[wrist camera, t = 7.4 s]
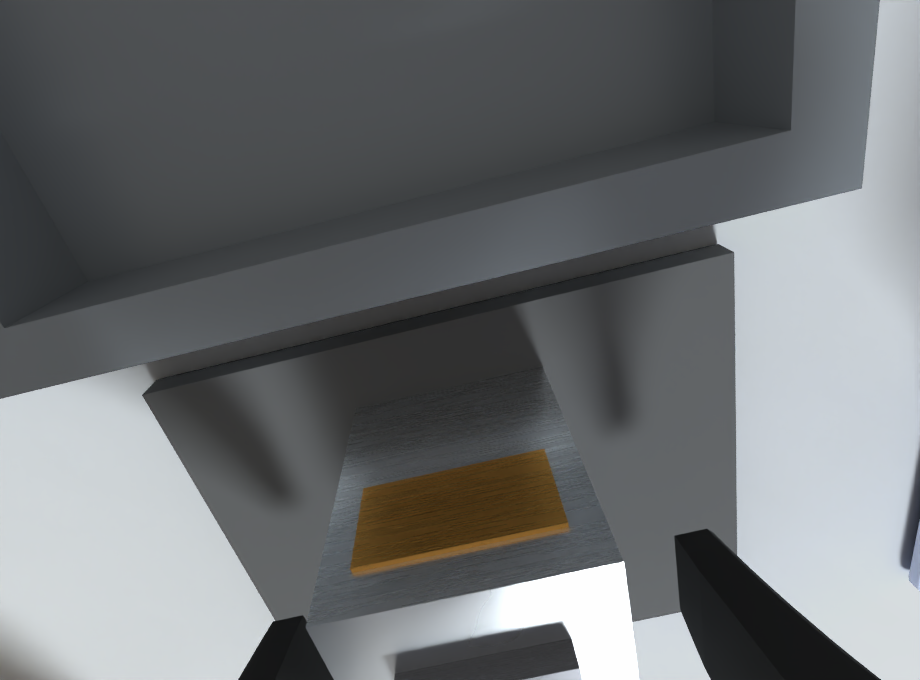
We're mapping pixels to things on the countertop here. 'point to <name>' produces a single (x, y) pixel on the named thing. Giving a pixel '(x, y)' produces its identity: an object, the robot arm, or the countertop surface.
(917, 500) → the countertop surface
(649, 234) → the case
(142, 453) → the countertop surface
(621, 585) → the block
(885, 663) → the countertop surface
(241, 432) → the grey flat panel
